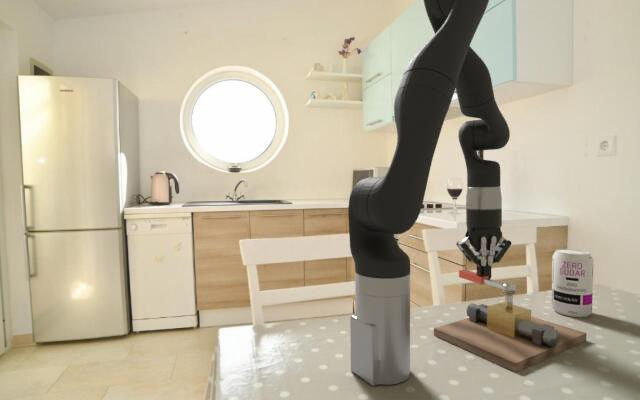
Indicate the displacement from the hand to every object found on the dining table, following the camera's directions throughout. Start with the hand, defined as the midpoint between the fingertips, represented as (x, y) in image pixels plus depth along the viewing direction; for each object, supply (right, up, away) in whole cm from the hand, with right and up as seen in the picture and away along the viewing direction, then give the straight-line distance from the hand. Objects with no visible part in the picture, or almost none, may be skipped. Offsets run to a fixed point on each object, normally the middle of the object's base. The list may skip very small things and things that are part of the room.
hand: (484, 280), depth 87 cm
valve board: (+1, -10, -10) cm, 14 cm away
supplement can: (+24, -9, +5) cm, 26 cm away
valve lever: (-2, 0, -5) cm, 5 cm away
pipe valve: (+1, -10, -10) cm, 14 cm away
